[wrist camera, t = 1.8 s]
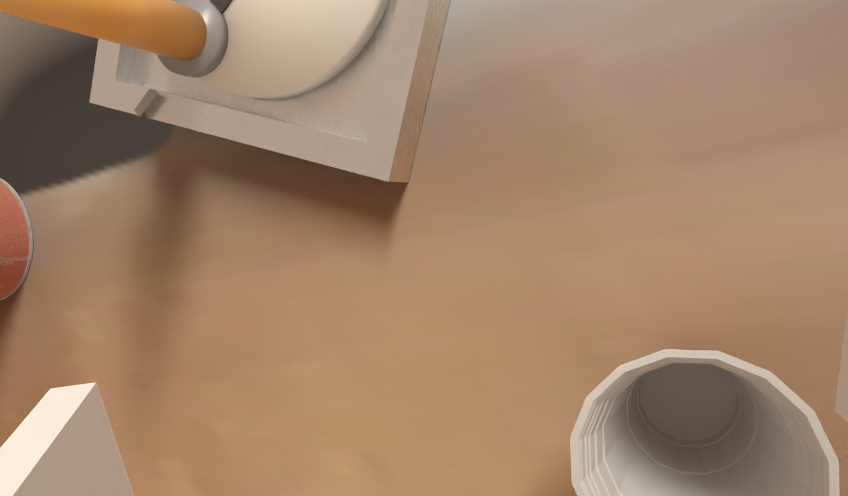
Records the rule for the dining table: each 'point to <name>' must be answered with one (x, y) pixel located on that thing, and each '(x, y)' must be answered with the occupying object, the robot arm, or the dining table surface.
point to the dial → (226, 36)
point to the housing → (302, 98)
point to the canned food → (13, 241)
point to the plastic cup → (699, 432)
